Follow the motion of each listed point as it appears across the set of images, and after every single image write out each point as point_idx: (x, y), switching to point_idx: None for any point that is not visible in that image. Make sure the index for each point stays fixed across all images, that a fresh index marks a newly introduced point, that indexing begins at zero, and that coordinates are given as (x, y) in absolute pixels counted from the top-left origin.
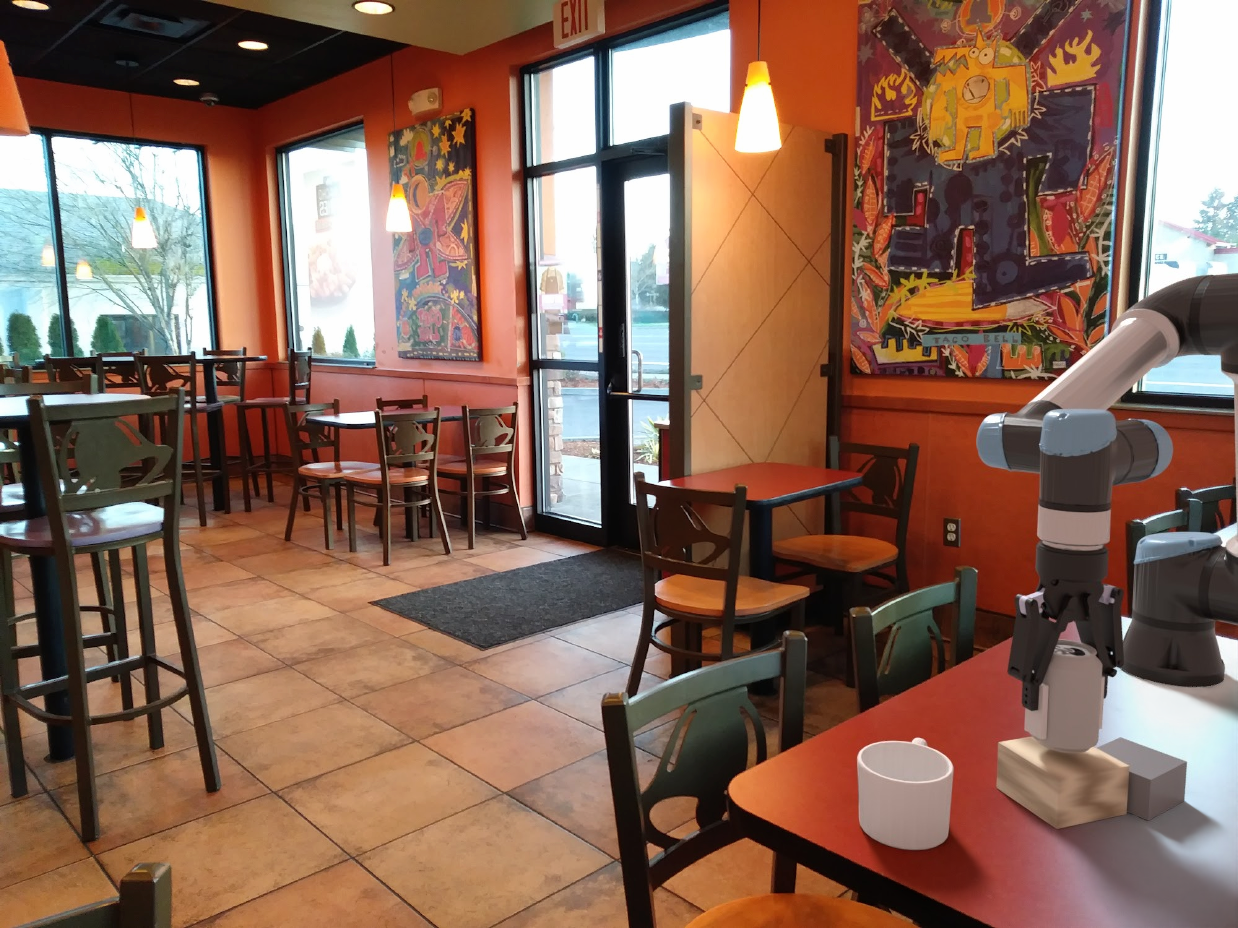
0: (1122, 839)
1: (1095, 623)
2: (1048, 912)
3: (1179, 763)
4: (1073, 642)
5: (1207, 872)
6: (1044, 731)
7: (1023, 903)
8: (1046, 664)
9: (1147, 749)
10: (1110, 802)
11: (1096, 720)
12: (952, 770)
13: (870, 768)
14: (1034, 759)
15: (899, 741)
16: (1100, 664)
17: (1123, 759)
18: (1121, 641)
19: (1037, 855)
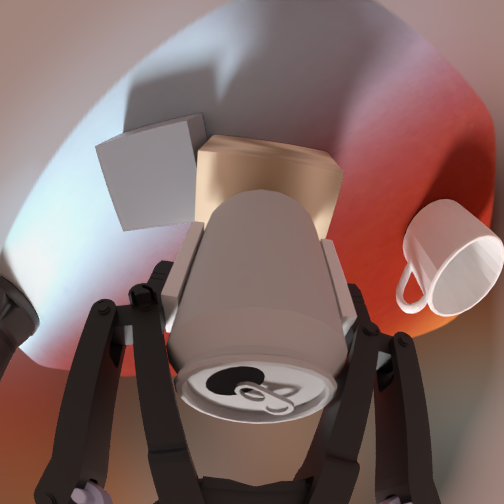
0: (274, 96)
1: (177, 463)
2: (455, 78)
3: (107, 145)
4: (197, 403)
5: (247, 12)
6: (328, 246)
7: (461, 99)
8: (359, 364)
9: (115, 192)
10: (239, 141)
11: (241, 215)
12: (465, 244)
13: (449, 294)
14: (316, 230)
15: (435, 311)
16: (201, 321)
17: (169, 183)
18: (78, 357)
19: (392, 131)
